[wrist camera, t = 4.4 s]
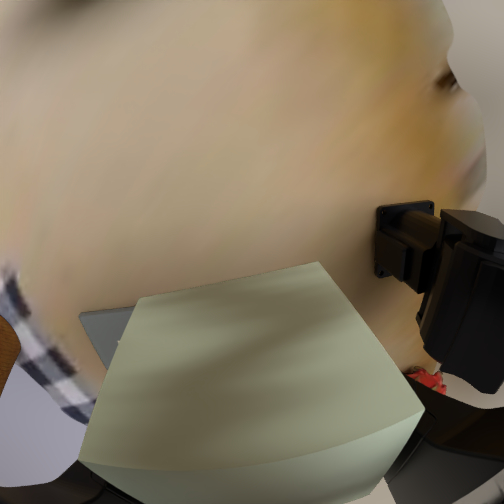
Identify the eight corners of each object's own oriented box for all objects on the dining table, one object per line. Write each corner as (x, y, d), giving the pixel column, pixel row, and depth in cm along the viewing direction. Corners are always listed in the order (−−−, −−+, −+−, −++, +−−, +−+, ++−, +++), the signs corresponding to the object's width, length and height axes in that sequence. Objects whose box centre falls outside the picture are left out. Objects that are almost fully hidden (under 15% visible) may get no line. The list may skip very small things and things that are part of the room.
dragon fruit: (427, 365, 33) (359, 378, 33) (458, 353, 25) (383, 370, 26) (431, 416, 28) (362, 434, 29) (463, 413, 21) (386, 439, 21)
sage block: (318, 261, 9) (425, 408, 3) (323, 380, 11) (368, 494, 5) (139, 297, 8) (77, 460, 3) (193, 405, 11) (190, 524, 5)
